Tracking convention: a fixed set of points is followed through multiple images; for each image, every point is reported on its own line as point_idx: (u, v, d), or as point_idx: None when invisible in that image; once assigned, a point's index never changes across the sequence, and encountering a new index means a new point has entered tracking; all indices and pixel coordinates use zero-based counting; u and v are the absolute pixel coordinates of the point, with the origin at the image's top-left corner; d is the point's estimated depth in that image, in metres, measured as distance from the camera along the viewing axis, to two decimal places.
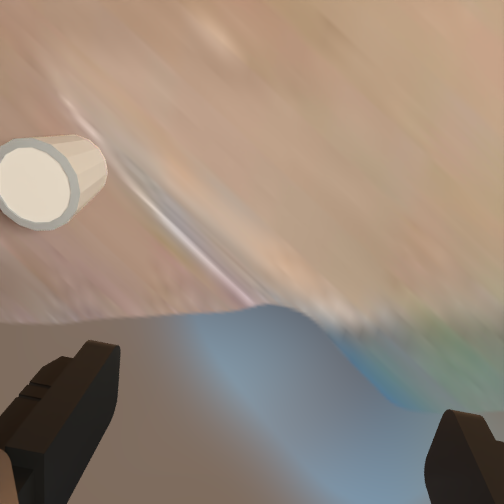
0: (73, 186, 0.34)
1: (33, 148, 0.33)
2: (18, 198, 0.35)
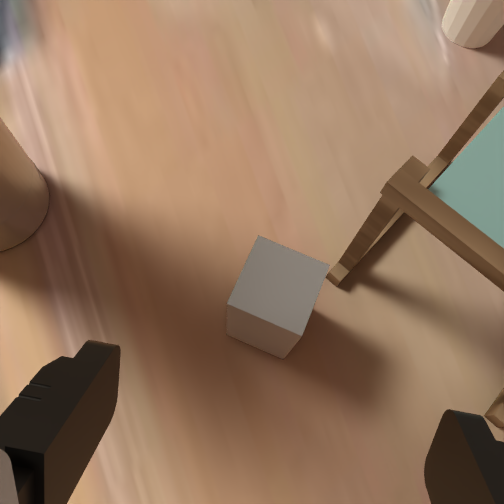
0: None
1: None
2: None
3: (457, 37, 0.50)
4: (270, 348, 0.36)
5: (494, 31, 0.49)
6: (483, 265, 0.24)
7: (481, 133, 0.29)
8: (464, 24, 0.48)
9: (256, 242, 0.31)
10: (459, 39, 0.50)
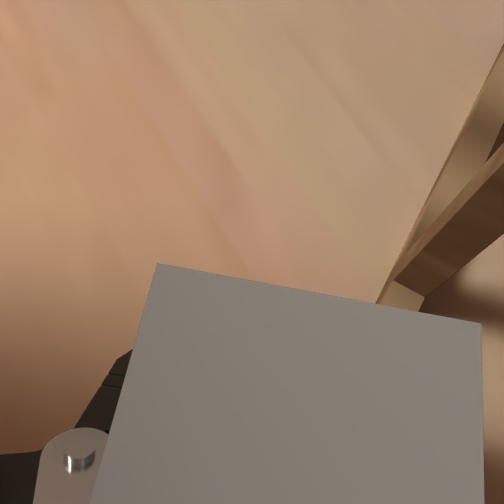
0: None
1: None
2: None
3: None
4: None
5: None
6: None
7: None
8: None
9: (154, 295, 0.07)
10: None
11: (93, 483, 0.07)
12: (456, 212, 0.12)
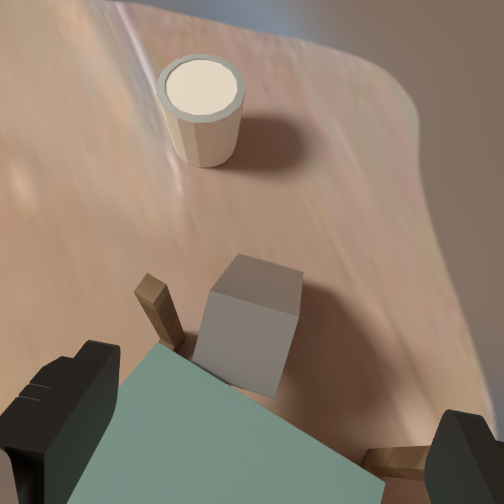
0: (165, 74, 0.37)
1: (180, 110, 0.35)
2: (222, 83, 0.37)
3: (188, 159, 0.41)
4: (278, 297, 0.27)
5: (225, 148, 0.40)
6: None
7: None
8: (185, 148, 0.39)
9: None
10: (191, 161, 0.41)
11: None
12: None
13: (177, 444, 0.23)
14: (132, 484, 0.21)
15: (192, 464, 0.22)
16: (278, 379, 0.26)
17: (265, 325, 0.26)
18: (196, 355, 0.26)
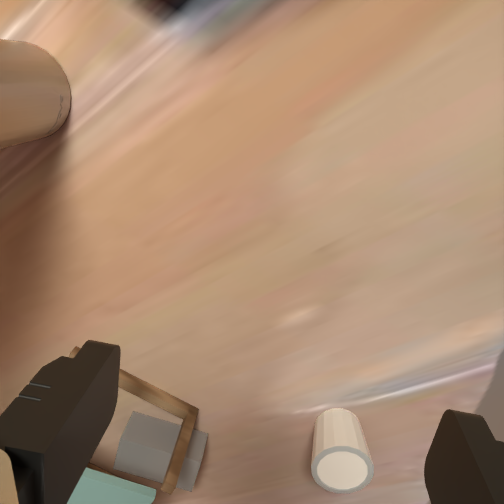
0: (353, 451, 0.51)
1: (321, 459, 0.52)
2: (345, 481, 0.53)
3: (317, 422, 0.57)
4: (132, 466, 0.57)
5: None
6: None
7: None
8: (316, 431, 0.56)
9: (207, 435, 0.60)
10: (316, 423, 0.58)
11: None
12: None
13: None
14: (78, 499, 0.48)
15: None
16: None
17: None
18: (130, 417, 0.60)
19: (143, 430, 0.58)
